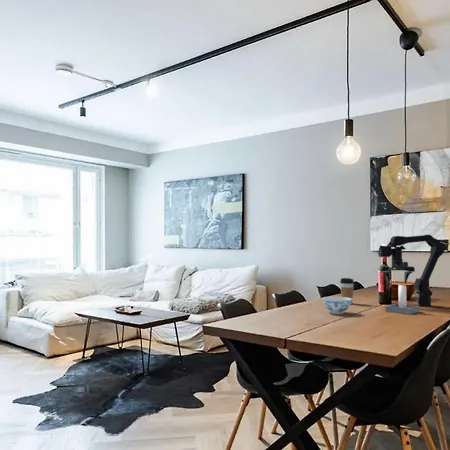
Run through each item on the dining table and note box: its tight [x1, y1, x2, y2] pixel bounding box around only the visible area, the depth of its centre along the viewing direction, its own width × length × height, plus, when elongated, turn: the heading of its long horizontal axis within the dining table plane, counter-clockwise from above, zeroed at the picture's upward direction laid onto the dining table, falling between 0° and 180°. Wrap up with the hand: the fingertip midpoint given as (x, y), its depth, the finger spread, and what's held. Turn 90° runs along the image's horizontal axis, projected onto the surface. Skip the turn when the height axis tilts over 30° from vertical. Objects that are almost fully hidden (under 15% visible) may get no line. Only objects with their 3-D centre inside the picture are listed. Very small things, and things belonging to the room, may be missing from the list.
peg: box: [397, 284, 408, 308], centre depth 243 cm, size 4×4×14 cm
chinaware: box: [322, 296, 353, 315], centre depth 238 cm, size 15×15×8 cm
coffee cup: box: [339, 277, 355, 305], centre depth 273 cm, size 8×8×15 cm
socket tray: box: [385, 303, 420, 315], centre depth 243 cm, size 13×13×3 cm
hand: (397, 283), depth 264 cm, fingers open, 9 cm apart
